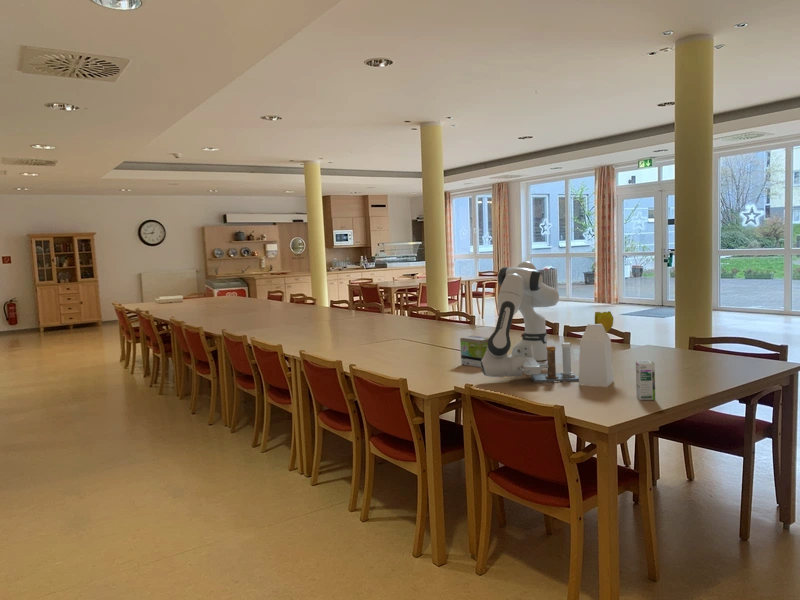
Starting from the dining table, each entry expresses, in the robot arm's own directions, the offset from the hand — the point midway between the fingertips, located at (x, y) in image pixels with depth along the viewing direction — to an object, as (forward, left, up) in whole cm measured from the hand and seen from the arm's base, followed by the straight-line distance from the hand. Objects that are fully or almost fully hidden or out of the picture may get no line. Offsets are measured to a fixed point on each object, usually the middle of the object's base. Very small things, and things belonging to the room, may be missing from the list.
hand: (547, 365), depth 265 cm
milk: (+21, +4, -7) cm, 22 cm away
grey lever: (+5, +11, -5) cm, 13 cm away
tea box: (-47, +19, -7) cm, 52 cm away
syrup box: (+46, -13, -7) cm, 48 cm away
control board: (+1, +4, -7) cm, 8 cm away
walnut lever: (+1, +1, -6) cm, 6 cm away
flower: (+20, +19, -7) cm, 28 cm away
